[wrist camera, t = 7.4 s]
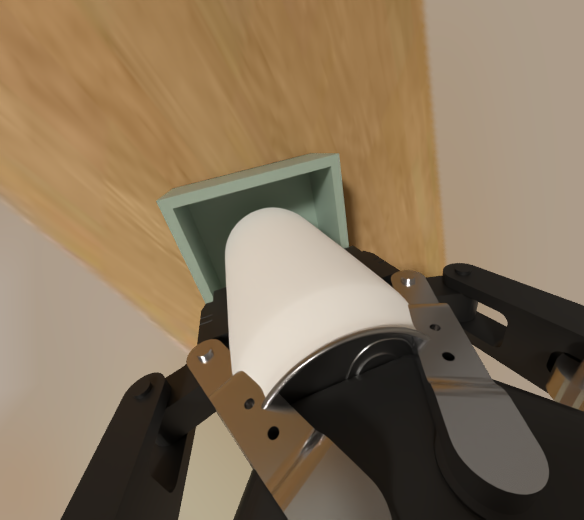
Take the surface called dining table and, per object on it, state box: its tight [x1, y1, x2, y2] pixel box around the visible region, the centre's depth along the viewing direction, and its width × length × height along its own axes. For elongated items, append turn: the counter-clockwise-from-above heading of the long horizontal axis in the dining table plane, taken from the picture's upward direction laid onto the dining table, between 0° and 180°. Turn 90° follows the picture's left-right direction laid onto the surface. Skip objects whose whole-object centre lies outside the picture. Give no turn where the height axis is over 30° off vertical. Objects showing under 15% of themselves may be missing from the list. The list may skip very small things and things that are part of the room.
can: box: [225, 207, 430, 409], centre depth 12 cm, size 6×6×12 cm
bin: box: [156, 153, 349, 303], centre depth 18 cm, size 11×11×5 cm
